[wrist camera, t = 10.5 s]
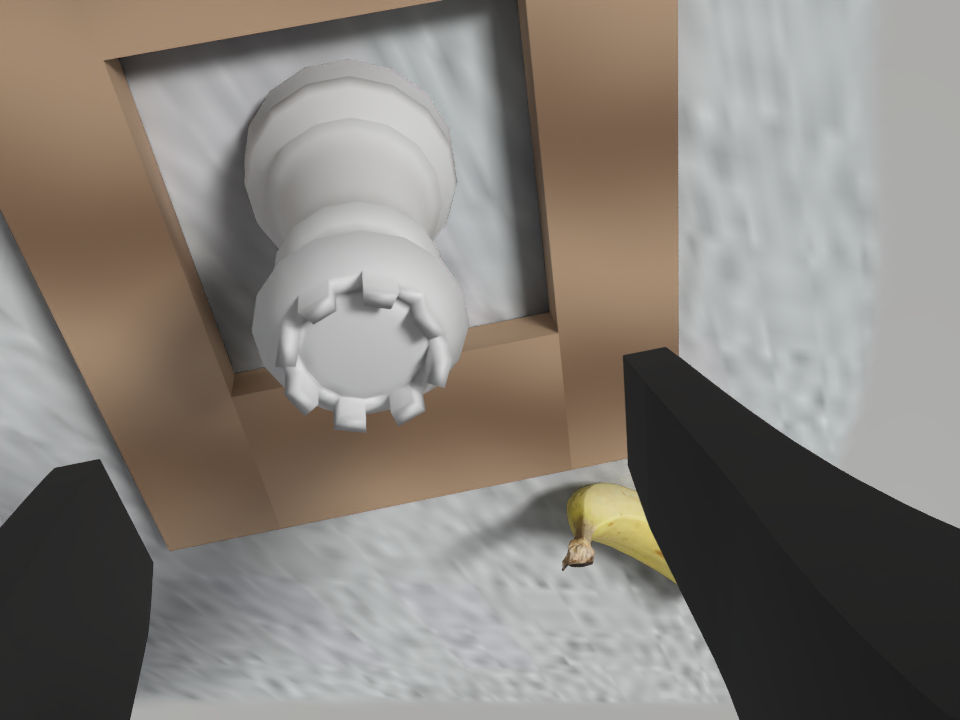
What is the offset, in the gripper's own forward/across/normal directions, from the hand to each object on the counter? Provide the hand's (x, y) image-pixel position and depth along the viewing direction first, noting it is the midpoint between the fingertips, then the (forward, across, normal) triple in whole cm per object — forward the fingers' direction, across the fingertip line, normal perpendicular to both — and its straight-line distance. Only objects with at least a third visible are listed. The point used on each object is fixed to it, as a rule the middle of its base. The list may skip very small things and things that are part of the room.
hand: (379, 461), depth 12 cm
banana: (+9, -6, +12) cm, 16 cm away
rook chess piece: (+9, 0, -1) cm, 9 cm away
